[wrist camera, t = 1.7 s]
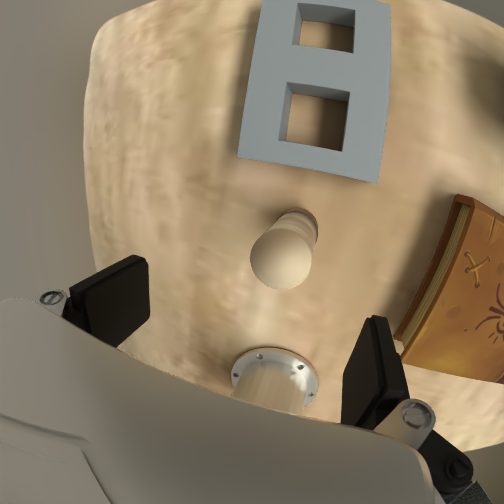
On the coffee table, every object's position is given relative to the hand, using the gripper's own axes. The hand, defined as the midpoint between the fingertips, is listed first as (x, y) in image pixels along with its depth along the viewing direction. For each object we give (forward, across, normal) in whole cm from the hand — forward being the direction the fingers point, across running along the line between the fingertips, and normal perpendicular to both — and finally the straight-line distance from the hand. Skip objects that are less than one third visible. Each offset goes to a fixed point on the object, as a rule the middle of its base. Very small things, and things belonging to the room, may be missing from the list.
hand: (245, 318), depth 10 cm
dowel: (+20, 0, 0) cm, 20 cm away
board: (+20, 0, -16) cm, 25 cm away
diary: (+20, -27, +3) cm, 34 cm away
